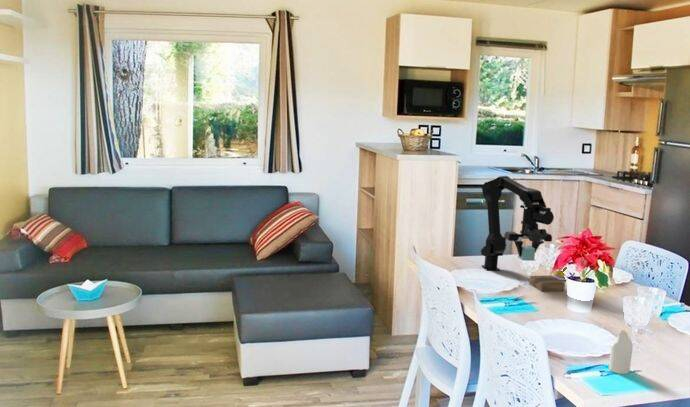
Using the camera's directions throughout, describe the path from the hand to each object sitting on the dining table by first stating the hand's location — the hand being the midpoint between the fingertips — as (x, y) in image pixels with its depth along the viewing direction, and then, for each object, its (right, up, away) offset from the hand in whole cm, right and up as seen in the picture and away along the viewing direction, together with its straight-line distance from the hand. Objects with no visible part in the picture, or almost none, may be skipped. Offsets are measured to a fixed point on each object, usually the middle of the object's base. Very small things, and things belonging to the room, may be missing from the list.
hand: (526, 256), depth 260 cm
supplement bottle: (+18, -11, +11) cm, 24 cm away
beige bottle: (+4, -26, -80) cm, 84 cm away
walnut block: (+7, -13, -4) cm, 15 cm away
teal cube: (0, -1, 0) cm, 1 cm away
